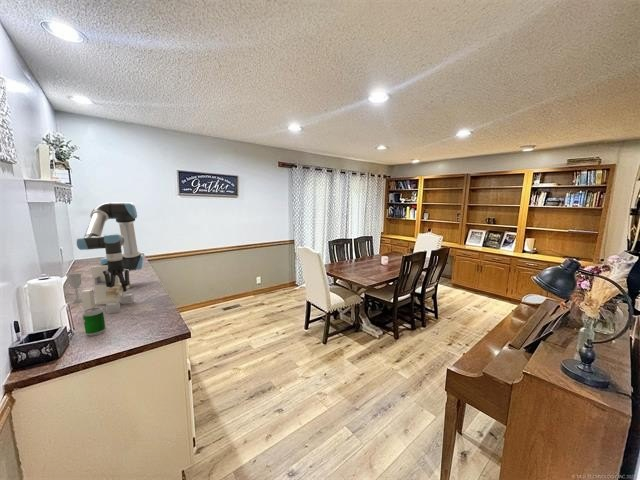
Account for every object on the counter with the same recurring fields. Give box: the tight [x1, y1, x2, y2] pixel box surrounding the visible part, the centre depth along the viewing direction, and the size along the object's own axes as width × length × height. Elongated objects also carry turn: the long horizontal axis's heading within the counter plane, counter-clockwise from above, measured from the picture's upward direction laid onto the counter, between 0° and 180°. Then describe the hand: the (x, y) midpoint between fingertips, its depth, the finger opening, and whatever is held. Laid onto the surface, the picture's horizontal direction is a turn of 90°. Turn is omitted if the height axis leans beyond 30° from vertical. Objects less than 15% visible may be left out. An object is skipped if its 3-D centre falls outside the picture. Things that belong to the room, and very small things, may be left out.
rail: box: [106, 283, 131, 298], centre depth 160 cm, size 18×4×4 cm, turn 10°
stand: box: [105, 293, 135, 314], centre depth 161 cm, size 18×6×5 cm, turn 10°
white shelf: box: [80, 265, 122, 313], centre depth 159 cm, size 20×14×24 cm
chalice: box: [66, 272, 83, 304], centre depth 170 cm, size 7×7×18 cm
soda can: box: [82, 306, 106, 337], centre depth 129 cm, size 8×8×12 cm
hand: (119, 297), depth 161 cm, fingers closed on rail, 4 cm apart
